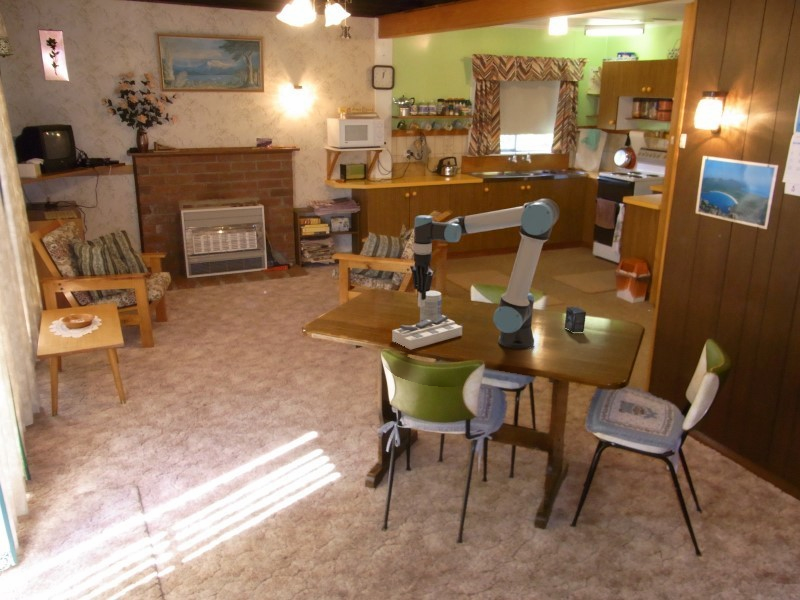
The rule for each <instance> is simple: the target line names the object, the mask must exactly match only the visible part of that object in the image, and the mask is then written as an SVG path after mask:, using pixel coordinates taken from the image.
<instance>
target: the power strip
mask: <svg viewBox="0 0 800 600" xmlns="http://www.w3.org/2000/svg"><path fill="white" fill-rule="evenodd" d="M411 326H415V327H416V324H412V325H411ZM463 328H464V324H457V323H456V322H455V321H454V320H452V319H450V318H448V319H447V320H445V321H444V322H442V323H440V324H438V325H435V324H431V325H429V326H427V327H424V328H422V329H420V328H418V327H417V330H416V331H411V330H403V329H401V328H400V327H399V328H396V329H392V330H391V331H392V333H391V334H392V336H391V337H392V343H395V342H396V343H395V344H397V343H398V345H399V344H400V346H401V345H402V347H404V346H405V348H406V349H408V350H414V349H415V350H416V349H417V348H421V347H425V346H428V345H432V344H435V343H440V342H442V341H446V340H449V339H453V338H457V337H461V336H463Z"/></svg>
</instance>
